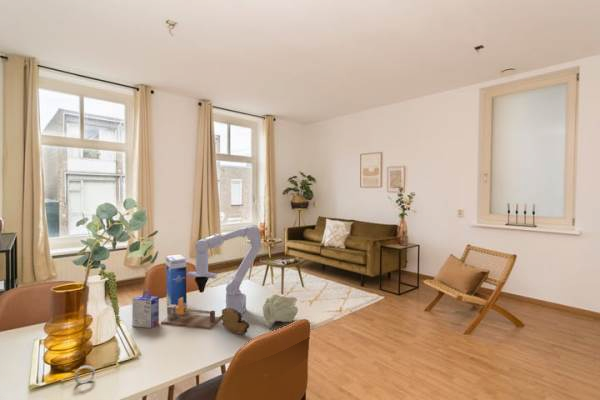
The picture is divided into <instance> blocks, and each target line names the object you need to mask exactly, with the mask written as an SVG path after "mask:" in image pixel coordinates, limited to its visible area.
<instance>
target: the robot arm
mask: <svg viewBox="0 0 600 400" xmlns="http://www.w3.org/2000/svg"><path fill="white" fill-rule="evenodd" d="M261 235H262V234H261V231H260V229H259V226H257V225H256V224H250V225H248V226H247V225H246V226H245V225H244V226H243V227H239V228H237V229H234V230H231V231H229V232H226V233H224V234H221V233H213V235H211V236H208V237H204V238H202V239H199V240H198V241H197V242H196V243H195V245H194V249H195V271H188V272H186V278H187V277H189V278H190V277H193V278H194V282H195V283H196V286H197V288H198V292H199V293H204V292H205V289H206V284H207V283H208V281H209V279H217V276H218V275H217V273H213V272H209V253H208V252H209V250H211V249H214V248H216V247H219V246H222V245H223V244H224V242H226V241H229V240H232V239H235V238H238V237H241V238H246V237H247V239H248V240H249V241H250V242H249V243H250V245H251V246H250V248H249V250H248V252H247V253H246V254H245V257H243V260H242V261H241V263H240V265H239V266H238V269H237V270H236V272H235V273H234V274H233V276H232V277H231V278H229V280H228V281H227V285H226V288H225V308H227V309H228V308H233V309H235V310H237V311H238V312H240V313H241V315H243V313H244V312H245V311H246V310H247V295H246V294H245V293H242V291H241V290H240V288H241V287H240V286H241V285H242V282H243V281H244V278H245V276H246V274H247V273H248V272H249V270H250V268H251V266H252V264H253V263H254V261H255V259H256V258H257V255H258V254H259V253H260V250H261V249H262V237H261ZM208 249H209V250H208Z"/></svg>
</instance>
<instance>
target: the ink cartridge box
mask: <svg viewBox="0 0 600 400" xmlns="http://www.w3.org/2000/svg"><path fill="white" fill-rule="evenodd" d="M142 294H143V295H139V296H136V297H134V298H133V299H132V301H131V303H132V309H131V310H132V315H131V317H132V319H131V320H132V321H131V322H132V324H131V325H132V327H138V328H147V329H151V328H153V327H155V326H157V325H159V324H160V319H159V318H160V314H159V313H160V311H159V309H160V305H159V304H160V297H159V296H152V291H147V290H145V291H143V293H142Z"/></svg>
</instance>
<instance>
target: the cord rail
mask: <svg viewBox="0 0 600 400" xmlns="http://www.w3.org/2000/svg"><path fill="white" fill-rule="evenodd" d="M175 307H177V305H172V304H171V305H169V306H166V309H167V312H166V314H167V317H165V318H164V319H163V320H161V321H160V324H161V325H166V326H167V325H168V326H169V325H170V326H179V327H188V328H197V329H207V330H211V329H212V328H213V327H214V326H215V325H216V324H217V323H219V321H221V319H220V318H219V317H220V316H216V310H210V311H209V310H199V309H188V308H187V309H184V311H186V313H184V314H175ZM188 312H189V313H188ZM191 313H197V314H191ZM201 314H209V315H201Z"/></svg>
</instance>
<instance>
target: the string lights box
mask: <svg viewBox="0 0 600 400" xmlns="http://www.w3.org/2000/svg"><path fill="white" fill-rule="evenodd" d="M165 281H166V282H165V284H166V285H165V286H166V287H165V288H166V305H167V306H166V307H168V306H169V305H171V304H172V305H177V306H178V299H179V298H181V297H183V306H187V305H188V303H187V259H186V258H185V257H184V256H183V255H181V254H179V253H178V254H173V255H170V254H169V255H166V256H165Z"/></svg>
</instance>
